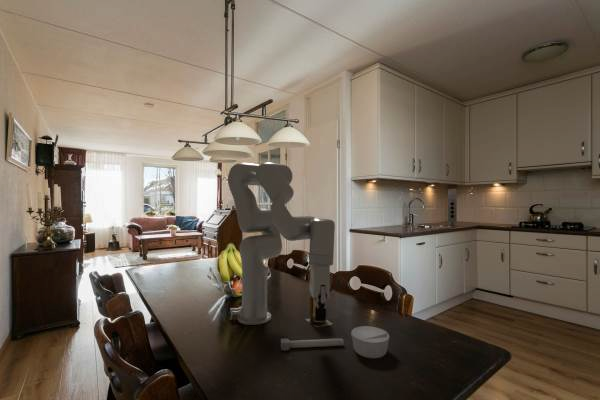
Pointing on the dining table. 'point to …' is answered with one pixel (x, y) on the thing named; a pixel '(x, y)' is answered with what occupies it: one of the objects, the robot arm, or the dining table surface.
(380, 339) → the ramekin
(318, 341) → the long grey bar
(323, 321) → the tan wooden block
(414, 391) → the dining table surface
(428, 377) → the dining table surface
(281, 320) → the dining table surface
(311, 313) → the condiment
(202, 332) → the dining table surface
